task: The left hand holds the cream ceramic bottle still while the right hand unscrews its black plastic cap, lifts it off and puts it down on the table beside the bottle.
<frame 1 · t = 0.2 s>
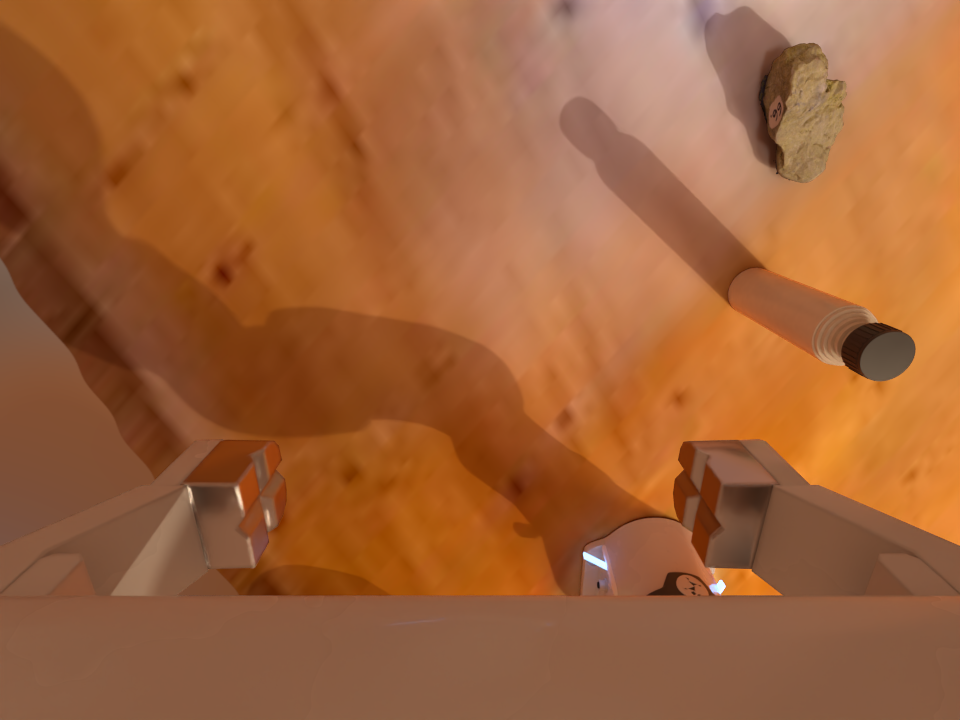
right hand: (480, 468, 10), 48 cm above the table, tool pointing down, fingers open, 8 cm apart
rock: (786, 118, 51), on the table
cap: (884, 355, 39), point 20 cm above the table, screwed on, not yet turned
bottle: (751, 290, 58), on the table
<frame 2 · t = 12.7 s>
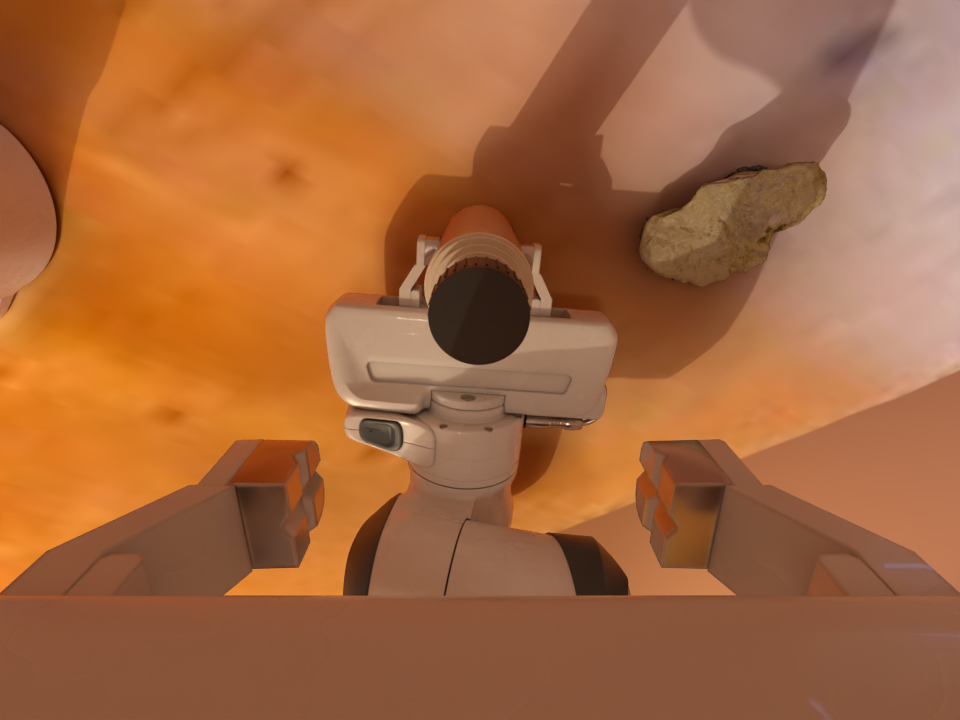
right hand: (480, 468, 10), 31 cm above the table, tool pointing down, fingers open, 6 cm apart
left hand: (479, 239, 34), fingers closed on bottle, 5 cm apart
rock: (710, 216, 39), on the table
cap: (479, 315, 20), point 20 cm above the table, screwed on, not yet turned
bottle: (479, 240, 40), on the table, touching left hand
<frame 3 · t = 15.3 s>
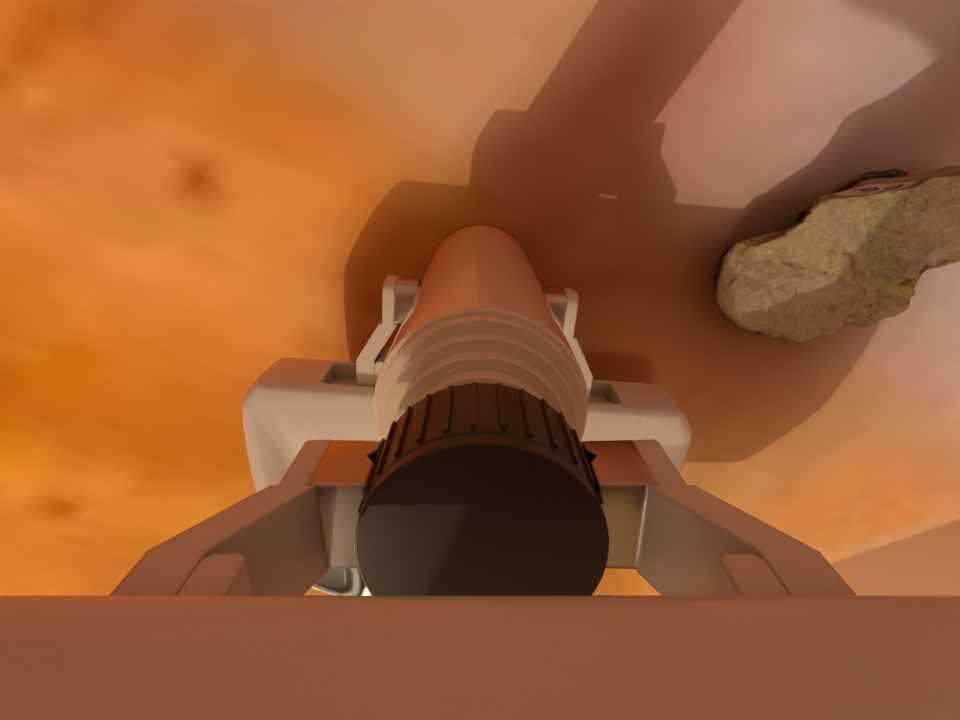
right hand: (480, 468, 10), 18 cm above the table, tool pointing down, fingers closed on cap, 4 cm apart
left hand: (480, 284, 22), fingers closed on bottle, 5 cm apart
rock: (815, 242, 27), on the table
cap: (481, 541, 8), point 20 cm above the table, screwed on, not yet turned, touching right hand
bottle: (479, 276, 27), on the table, touching left hand
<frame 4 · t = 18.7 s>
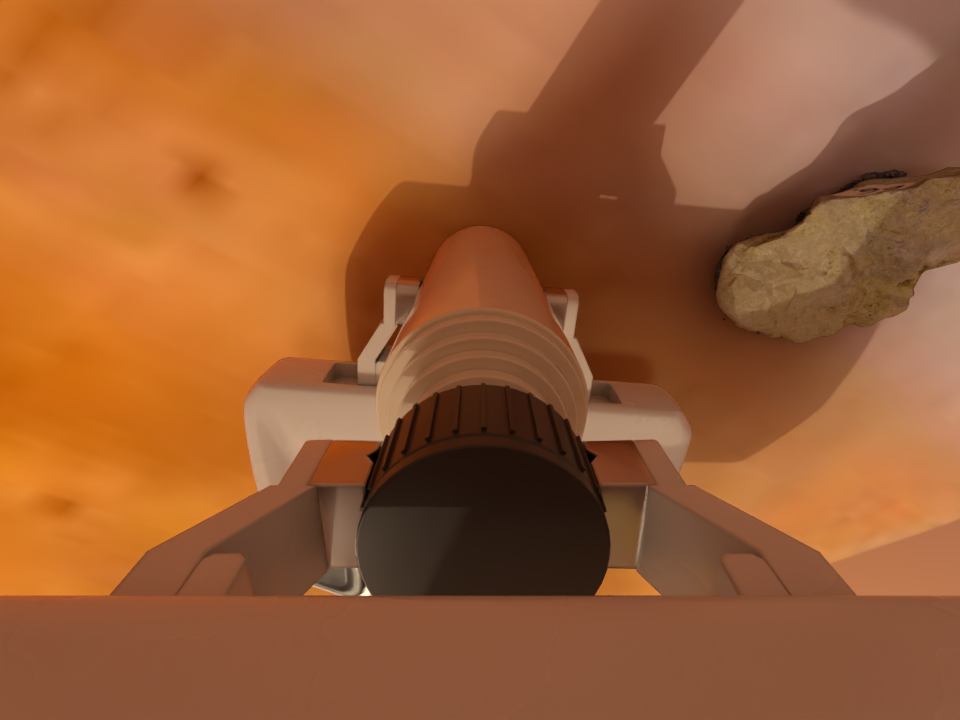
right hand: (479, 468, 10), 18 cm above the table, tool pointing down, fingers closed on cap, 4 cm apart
left hand: (481, 284, 22), fingers closed on bottle, 5 cm apart
rock: (815, 242, 27), on the table
cap: (482, 543, 8), point 21 cm above the table, turned 96° so far, risen 0.1 cm, still on its thread, touching right hand
bottle: (480, 276, 28), on the table, touching left hand
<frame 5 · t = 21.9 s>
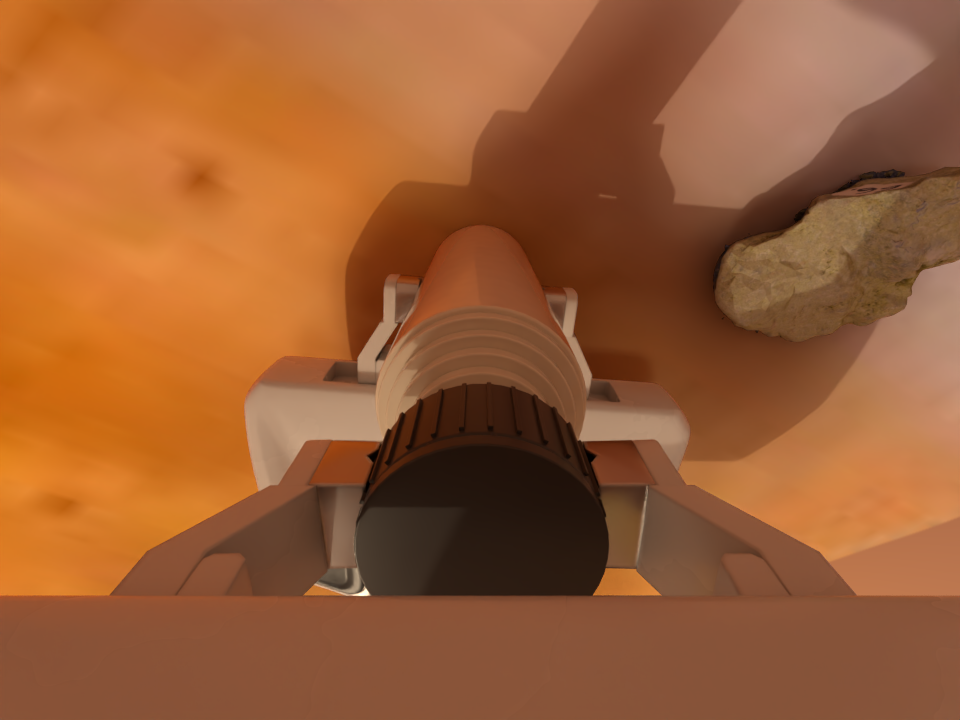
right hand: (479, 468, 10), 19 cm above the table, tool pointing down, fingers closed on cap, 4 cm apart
left hand: (481, 283, 22), fingers closed on bottle, 5 cm apart
rock: (813, 242, 27), on the table
cap: (481, 542, 8), point 21 cm above the table, turned 192° so far, risen 0.2 cm, still on its thread, touching right hand
bottle: (480, 275, 28), on the table, touching left hand
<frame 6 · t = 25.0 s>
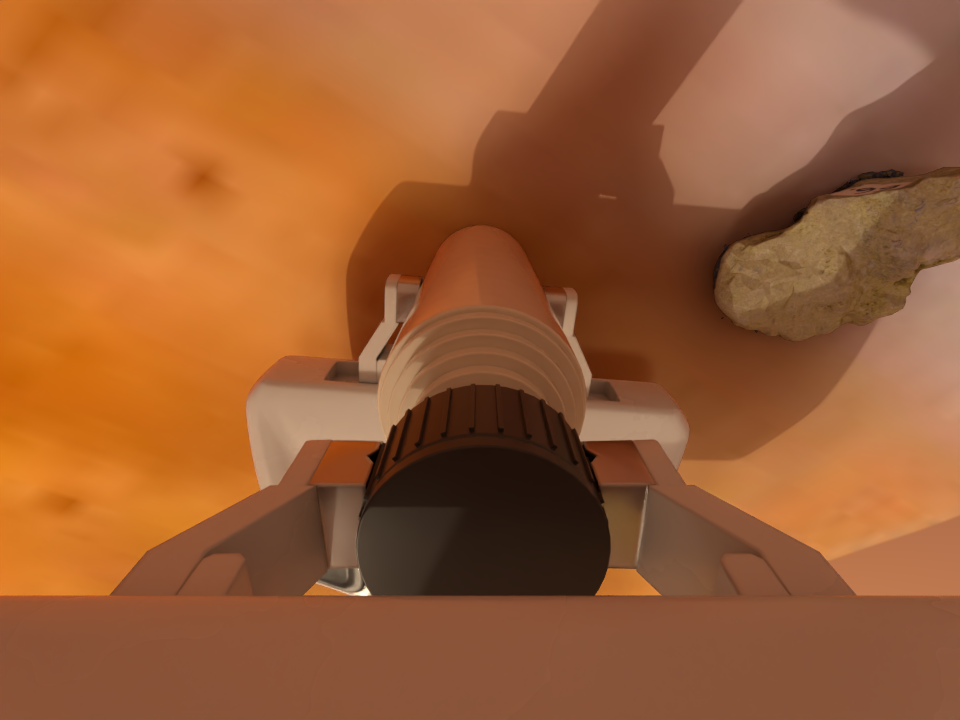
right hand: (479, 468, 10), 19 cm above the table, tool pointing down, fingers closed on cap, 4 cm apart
left hand: (481, 283, 22), fingers closed on bottle, 5 cm apart
rock: (812, 242, 27), on the table
cap: (483, 543, 8), point 21 cm above the table, turned 287° so far, risen 0.3 cm, still on its thread, touching right hand
bottle: (480, 275, 28), on the table, touching left hand
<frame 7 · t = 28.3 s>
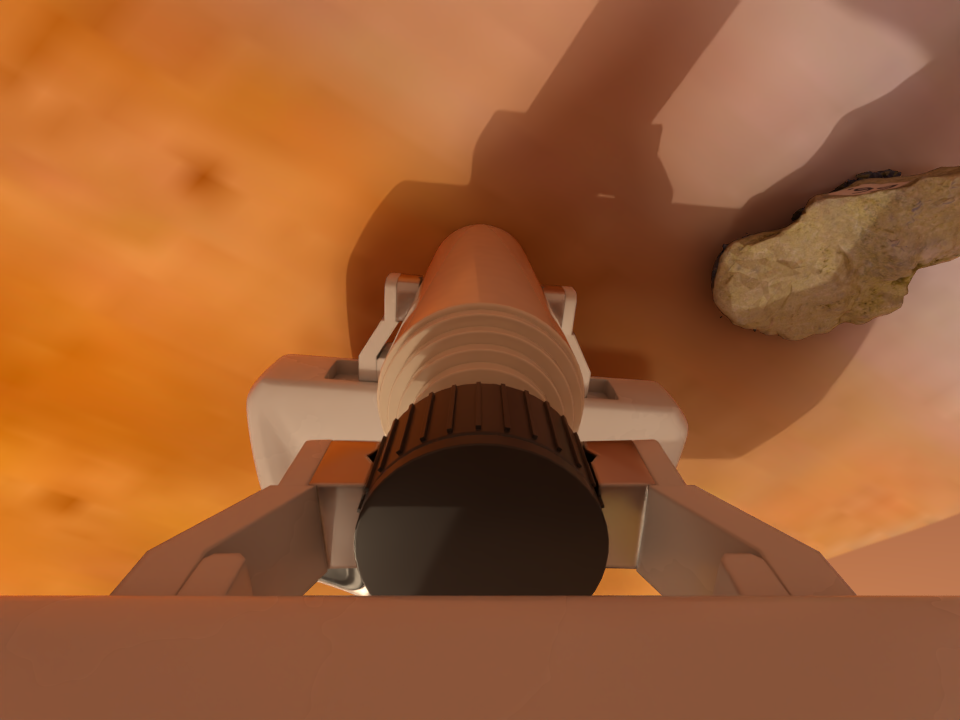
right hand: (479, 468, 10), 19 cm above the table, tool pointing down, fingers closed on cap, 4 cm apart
left hand: (480, 281, 22), fingers closed on bottle, 5 cm apart
rock: (810, 241, 27), on the table
cap: (481, 541, 8), point 21 cm above the table, turned 383° so far, risen 0.5 cm, still on its thread, touching right hand
bottle: (480, 274, 28), on the table, touching left hand
when the right hand's fingers open (2 cm above the table, at t = 34.3 s): cap drops 2 cm, point 2 cm above the table.
when the left hand's fingers open (6 cm above the table, at t = 35.5 s): bottle stays where it is, on the table.
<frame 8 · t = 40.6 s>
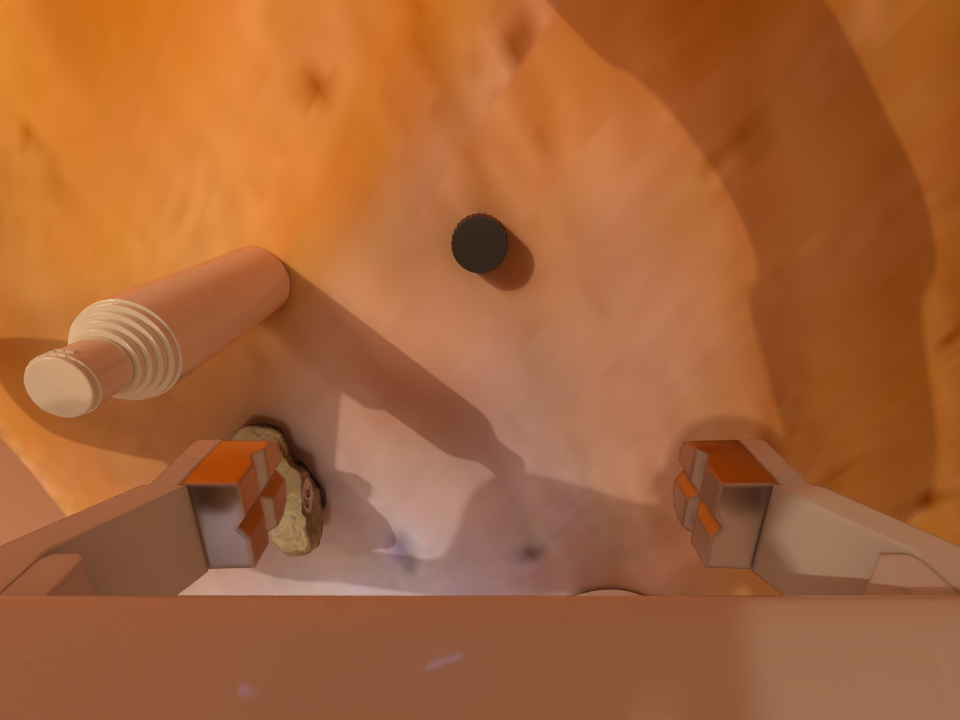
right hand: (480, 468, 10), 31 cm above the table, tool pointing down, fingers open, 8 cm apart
rock: (287, 471, 47), on the table
cap: (479, 244, 37), point 2 cm above the table, off its thread
bottle: (256, 281, 40), on the table
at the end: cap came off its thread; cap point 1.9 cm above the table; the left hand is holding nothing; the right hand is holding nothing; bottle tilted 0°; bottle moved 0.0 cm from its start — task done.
